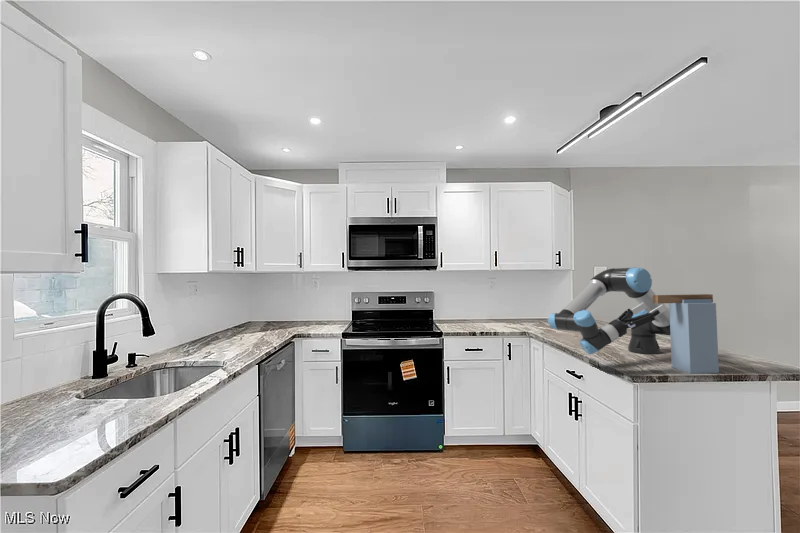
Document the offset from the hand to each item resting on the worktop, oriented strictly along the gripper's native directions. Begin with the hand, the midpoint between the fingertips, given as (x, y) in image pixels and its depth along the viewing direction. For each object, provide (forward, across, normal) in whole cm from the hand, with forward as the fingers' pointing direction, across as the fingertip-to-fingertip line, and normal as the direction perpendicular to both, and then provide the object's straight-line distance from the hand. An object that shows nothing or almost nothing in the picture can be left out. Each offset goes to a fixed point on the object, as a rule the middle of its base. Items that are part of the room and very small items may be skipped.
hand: (654, 306), depth 174 cm
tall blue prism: (0, 0, -33) cm, 33 cm away
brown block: (+12, 0, -5) cm, 13 cm away
